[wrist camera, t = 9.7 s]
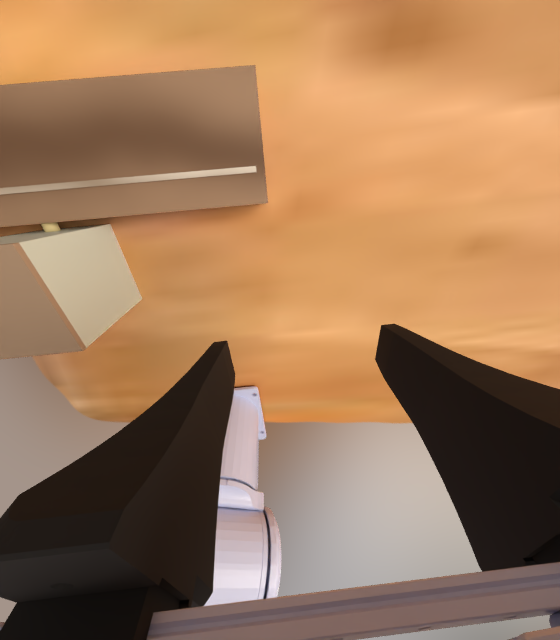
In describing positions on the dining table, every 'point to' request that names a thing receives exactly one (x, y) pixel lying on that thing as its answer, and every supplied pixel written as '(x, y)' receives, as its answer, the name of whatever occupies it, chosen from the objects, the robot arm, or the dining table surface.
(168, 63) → the dining table surface
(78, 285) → the block
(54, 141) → the tan rectangular bar
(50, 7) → the dining table surface
